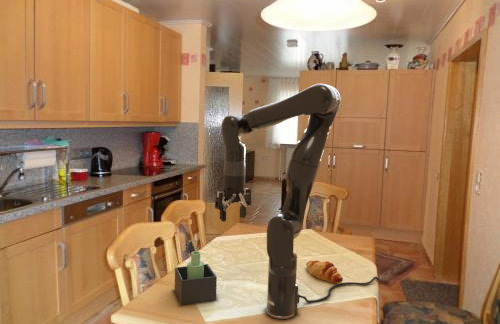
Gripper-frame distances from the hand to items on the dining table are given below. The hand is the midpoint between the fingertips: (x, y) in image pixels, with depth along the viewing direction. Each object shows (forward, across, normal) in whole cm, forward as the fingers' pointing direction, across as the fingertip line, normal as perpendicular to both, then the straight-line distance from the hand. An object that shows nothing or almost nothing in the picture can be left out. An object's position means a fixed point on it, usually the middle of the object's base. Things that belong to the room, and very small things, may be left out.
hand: (233, 219), depth 136 cm
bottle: (+28, -10, +8) cm, 30 cm away
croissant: (+28, +42, -9) cm, 51 cm away
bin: (+28, -10, +8) cm, 31 cm away
